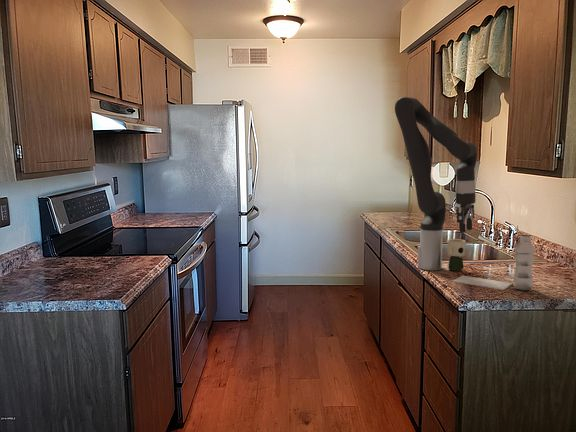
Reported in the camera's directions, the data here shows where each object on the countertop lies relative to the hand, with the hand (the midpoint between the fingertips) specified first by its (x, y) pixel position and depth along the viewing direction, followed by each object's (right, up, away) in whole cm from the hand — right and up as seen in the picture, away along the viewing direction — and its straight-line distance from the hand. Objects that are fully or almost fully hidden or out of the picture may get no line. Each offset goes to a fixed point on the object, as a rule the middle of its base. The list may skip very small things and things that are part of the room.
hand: (465, 231), depth 195 cm
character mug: (-1, -17, +8) cm, 19 cm away
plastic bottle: (+13, -21, -21) cm, 32 cm away
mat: (+2, -20, -12) cm, 23 cm away
